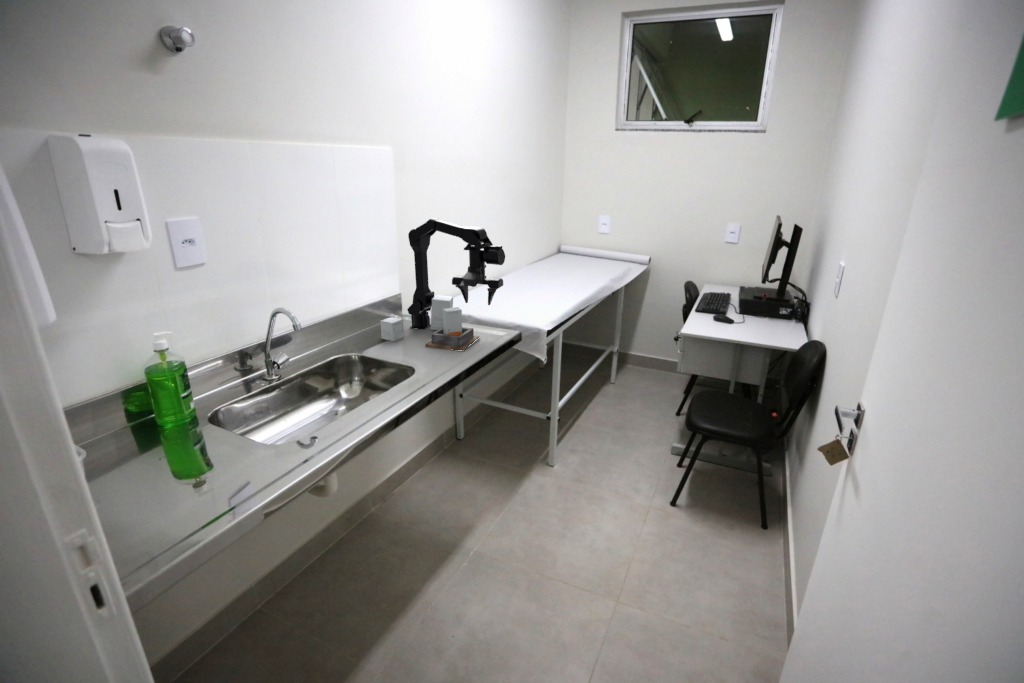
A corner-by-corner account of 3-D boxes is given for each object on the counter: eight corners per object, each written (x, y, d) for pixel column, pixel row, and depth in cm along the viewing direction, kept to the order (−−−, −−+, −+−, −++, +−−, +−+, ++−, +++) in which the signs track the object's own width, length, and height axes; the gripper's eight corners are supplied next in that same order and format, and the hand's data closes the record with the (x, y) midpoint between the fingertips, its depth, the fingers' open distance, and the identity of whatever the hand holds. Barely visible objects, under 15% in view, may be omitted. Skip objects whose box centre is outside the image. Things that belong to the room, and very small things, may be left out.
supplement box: (452, 326, 208) (454, 296, 204) (448, 331, 201) (450, 301, 197) (434, 324, 208) (436, 294, 204) (429, 329, 201) (431, 298, 197)
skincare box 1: (393, 341, 189) (392, 323, 187) (381, 339, 192) (379, 320, 190) (404, 337, 194) (403, 318, 192) (392, 334, 197) (391, 316, 195)
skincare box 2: (447, 343, 185) (445, 311, 181) (443, 339, 189) (442, 308, 185) (462, 340, 187) (461, 309, 183) (459, 337, 191) (458, 306, 187)
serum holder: (425, 346, 184) (424, 334, 183) (444, 334, 197) (443, 323, 196) (463, 351, 179) (462, 339, 178) (479, 338, 193) (479, 327, 191)
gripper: (444, 264, 182) (446, 306, 187) (492, 268, 176) (493, 311, 181) (457, 259, 192) (458, 299, 197) (503, 263, 186) (503, 304, 191)
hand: (477, 303), depth 191 cm, fingers open, 9 cm apart
